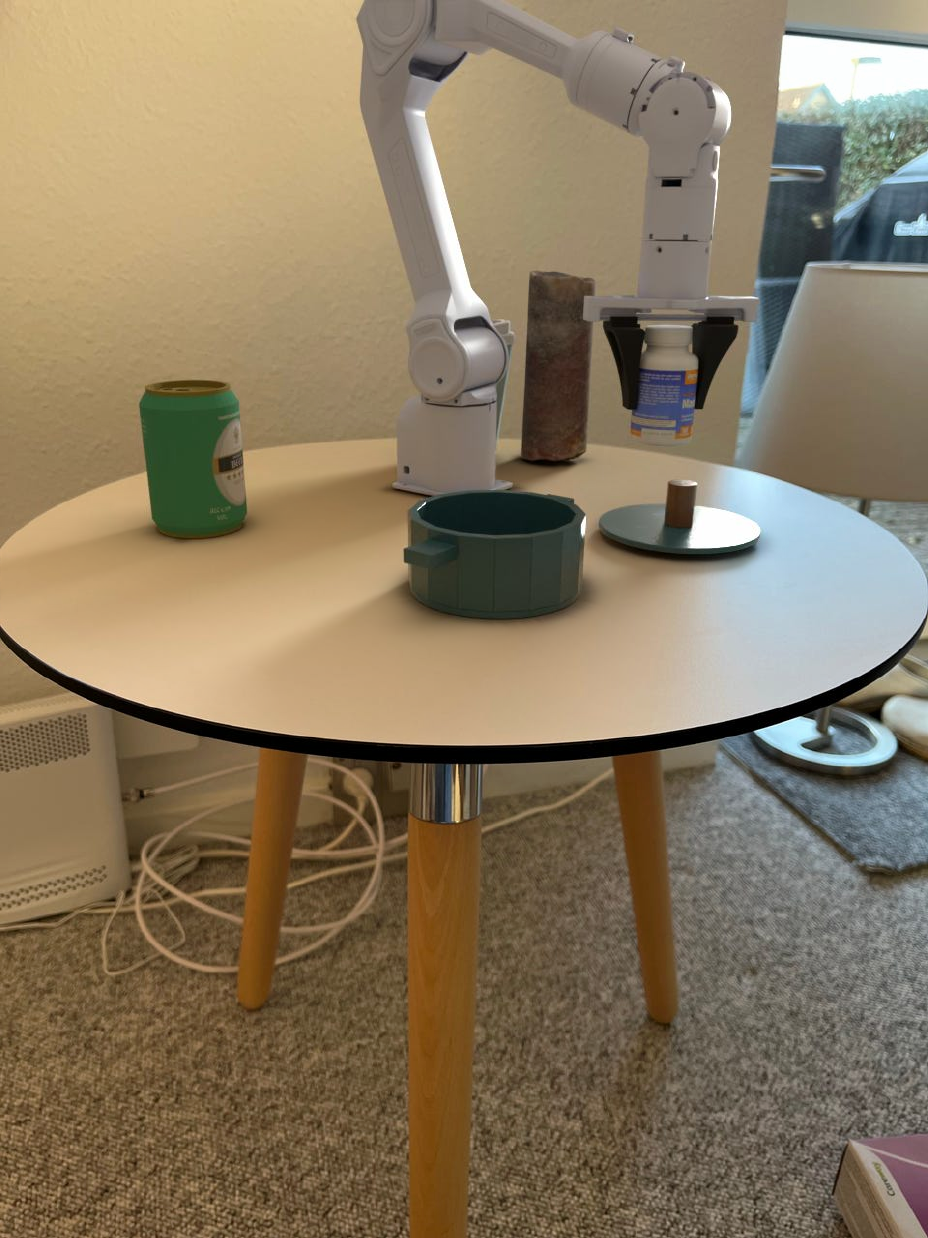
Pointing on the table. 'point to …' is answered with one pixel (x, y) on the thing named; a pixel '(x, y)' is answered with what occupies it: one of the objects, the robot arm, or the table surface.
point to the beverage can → (193, 457)
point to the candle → (556, 367)
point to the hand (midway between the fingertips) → (662, 407)
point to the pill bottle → (665, 387)
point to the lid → (679, 525)
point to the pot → (495, 553)
